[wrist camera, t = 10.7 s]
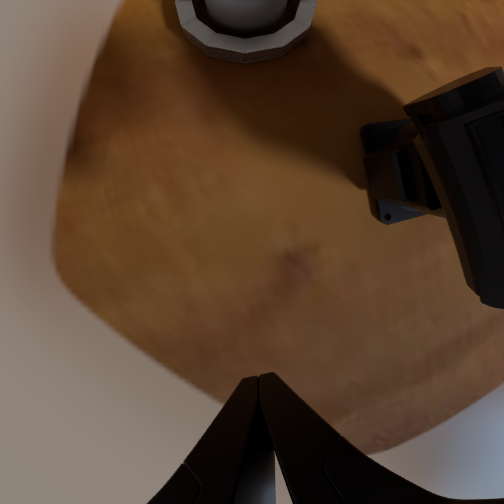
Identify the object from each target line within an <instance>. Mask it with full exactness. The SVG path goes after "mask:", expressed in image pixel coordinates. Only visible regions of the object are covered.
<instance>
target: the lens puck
mask: <svg viewBox="0 0 504 504" xmlns="http://www.w3.org/2000/svg"><path fill="white" fill-rule="evenodd" d="M205 4H206V9H207V13H208V18H209V21H210V23H211V25H212V26H213V27H214V28H215V29H216V30H217V31H218V32H220V33H221V34H224V35H229V36H234V37H239V38H244V39H247V38H252V37H257V36H263V35H268V34H270V33H271V32H273V31H274V30H275V29H276V28H277V27H278V26H279V25H280V23H281V21H282V19H283V15H284V11H285V8H286V4H287V0H205Z"/></svg>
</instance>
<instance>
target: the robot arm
mask: <svg viewBox="0 0 504 504" xmlns="http://www.w3.org/2000/svg"><path fill="white" fill-rule="evenodd" d="M402 107H403V109H404V110H405V112H406V114H407V116H410V118H411V119H405V120H396V121H388V122H381V123H374V124H367V125H365V126H363V127H362V128H361V129H360V135H361V139H362V143H363V147H364V151H365V156H364V158H363V160H364V164H365V168H366V173H367V177H368V182H369V187H370V192H371V196H372V197H373V198H375V201H376V206H377V212H378V218H379V221H380V222H381V223H383V224H386V225H389V224H393V223H396V222H400V221H404V220H407V219H411V218H415V217H418V216H422V215H426V214H430V215H435V216H439V217H444V218H446V220H447V223H448V225H449V228H450V231H451V234H452V237H453V240H454V243H455V246H456V250H457V253H458V256H459V260H460V263H461V266H462V270H463V274H464V277H465V280H466V283H467V285H468V286H469V287H470V288H471V289H472V290H473V291H474V292H475V293H476V294H477V295H478V296H480V301H481V302H482V303H483V304H486V305H488V306H491V307H494V308H500V309H504V71H503V69H502V67H487V68H484V69H481V70H479V71H476V72H474V73H471V74H469V75H466V76H464V77H461V78H459V79H457V80H454V81H452V82H450V83H448V84H446V85H444V86H442V87H440V88H438V89H436V90H434V91H432V92H429V93H427V94H425V95H423V96H421V97H419V98H417V99H415V100H413V101H411V102H409V103H408V104H406V105H404V106H402ZM366 129H368V130H370V132H371V135H370V136H368V135H367V134H366ZM386 213H388V219H387V220H385V218H384V216H385V214H386ZM274 451H275V453H274ZM275 454H276V457H277V460H278V462H279V465H280V468H281V471H282V474H283V477H284V480H285V483H286V486H287V489H288V491H289V494H290V497H291V500H292V503H293V504H504V498H498V499H474V500H471V499H470V500H463V499H462V500H461V499H451V498H446V497H442V496H439V495H436V494H434V493H432V492H430V491H427V490H425V489H423V488H421V487H420V486H418V485H416V484H414V483H412V482H410V481H408V480H406V479H405V478H402V477H401V476H399V475H397V474H395V473H394V472H392V471H390V470H388V469H387V468H385V467H383V466H382V465H380V464H379V463H377V462H375V461H374V460H372V459H371V458H369V457H368V456H366V455H365V454H364V453H362V452H361V451H360V450H359V449H357V448H356V447H355V446H354V445H352V444H351V443H350V442H349V441H348V440H347V439H345V438H344V437H343V436H341V435H340V434H339V433H338V432H337V431H336V430H335V429H334V428H333V427H332V426H331V425H329V424H328V423H327V422H326V421H325V420H324V419H323V418H322V417H321V416H320V415H319V414H317V413H316V412H315V411H314V410H313V409H312V408H311V407H310V406H309V405H308V404H307V403H306V402H305V401H304V400H302V399H301V398H300V397H299V396H298V395H297V394H296V393H295V392H294V391H293V390H292V389H291V388H290V387H289V386H288V385H287V384H286V383H285V382H284V381H283V380H282V379H281V378H280V377H279V376H278V375H277V374H276V373H274V372H270V373H266V374H261V375H260V376H259V377H258V376H252V377H247V378H243V379H242V380H241V381H240V383H239V384H238V386H237V387H236V389H235V390H234V392H233V393H232V395H231V396H230V398H229V399H228V400H227V402H226V403H225V405H224V406H223V408H222V409H221V411H220V412H219V413H218V415H217V416H216V418H215V419H214V420H213V422H212V423H211V425H210V426H209V427H208V429H207V430H206V432H205V433H204V434H203V436H202V437H201V439H200V440H199V441H198V442H197V444H196V445H195V447H194V448H193V449H192V451H191V452H190V453H189V455H188V456H187V457H186V459H185V460H184V461H183V463H184V464H181V465H180V466H179V468H178V469H177V470H176V471H175V473H174V474H173V475H172V477H171V478H170V479H169V480H168V481H167V483H166V484H165V485H164V486H163V487H162V488H161V489H160V490H159V491H158V493H157V494H156V495H155V496H154V497H153V498H152V499H151V500H150V501H149V502H148V503H147V504H276V491H275Z"/></svg>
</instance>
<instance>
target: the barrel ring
mask: <svg viewBox="0 0 504 504" xmlns="http://www.w3.org/2000/svg"><path fill="white" fill-rule="evenodd" d="M199 2H200V0H175V4H176V8H177V12H178V16H179V20H180V24H181V27H182V30H183V32H184V35H185V37H186V39H187V40H189V41H190V42H191V43H193V44H194V45H195V46H196V47H198V48H199V49H200V50H201V51H203V52H204V53H205V54H206V55H208V56H210V57H212V58H217V59H222V60H227V61H232V62H236V63H241V64H244V63H245V64H249V63H254V62H259V61H264V60H269V59H275V58H279V57H281V56H283V55H284V54H285V53H287V52H288V51H289V50H290V49H292V48H293V47H294V46H296V45H297V44H298V43H300V42H301V41H302V40H304V38H305V36H306V34H307V32H308V30H309V28H310V25H311V21H312V18H313V15H314V11H315V8H316V4H317V1H316V0H291V2H292V4H293V7H294V9H295V11H296V16H295V19H294V20H293V21H291V22H290V23H289V24H287V25H286V26H284V27H283V28H282V29H280V30H279V31H277V32H276V33H275V34H269V35H263V36H257V37H252V38H247V39H244V38H239V37H234V36H229V35H224V34H218V33H215V32H214V31H213V30H211V29H210V28H209V27H207V26H206V25H205V24H203V23H202V22H201V21H199V20H198V19H197V18H196V15H195V11H196V9H197V6H198V4H199Z"/></svg>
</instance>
